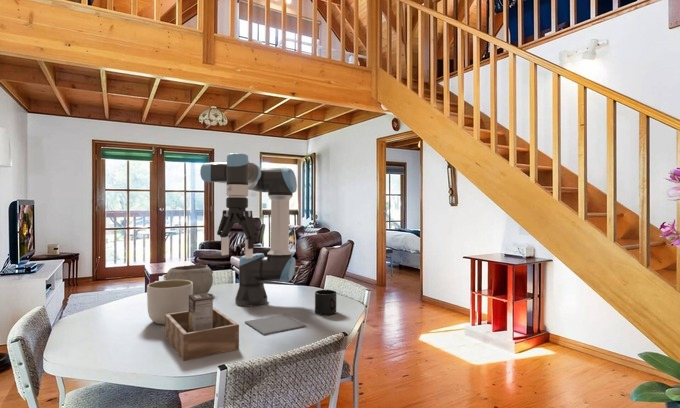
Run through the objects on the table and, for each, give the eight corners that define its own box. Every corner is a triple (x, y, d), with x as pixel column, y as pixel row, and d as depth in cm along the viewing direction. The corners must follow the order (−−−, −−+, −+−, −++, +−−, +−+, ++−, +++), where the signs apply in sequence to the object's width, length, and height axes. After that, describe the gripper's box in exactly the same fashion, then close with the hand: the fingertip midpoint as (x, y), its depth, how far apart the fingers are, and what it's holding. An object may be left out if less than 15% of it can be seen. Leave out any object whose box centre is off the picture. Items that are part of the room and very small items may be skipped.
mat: (244, 322, 159) (244, 321, 159) (285, 315, 169) (285, 314, 169) (263, 335, 144) (263, 333, 144) (306, 326, 154) (306, 325, 154)
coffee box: (187, 340, 139) (187, 294, 138) (206, 337, 142) (206, 292, 142) (193, 348, 131) (194, 299, 131) (213, 344, 134) (213, 297, 134)
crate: (164, 336, 142) (165, 314, 142) (213, 327, 152) (213, 307, 152) (183, 360, 121) (183, 334, 121) (238, 348, 131) (239, 324, 131)
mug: (326, 318, 166) (326, 296, 166) (310, 311, 175) (310, 291, 175) (344, 314, 171) (344, 293, 171) (328, 308, 181) (328, 288, 181)
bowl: (202, 289, 220) (202, 261, 220) (220, 296, 203) (221, 267, 203) (158, 295, 204) (158, 266, 204) (175, 304, 187) (175, 272, 187)
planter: (136, 324, 155) (137, 286, 155) (169, 313, 171) (169, 278, 171) (171, 330, 150) (171, 289, 149) (201, 317, 165) (201, 281, 165)
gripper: (207, 197, 146) (207, 254, 146) (251, 196, 131) (251, 260, 131) (224, 197, 152) (224, 252, 152) (268, 197, 137) (268, 258, 137)
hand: (236, 256), depth 141 cm, fingers open, 13 cm apart
